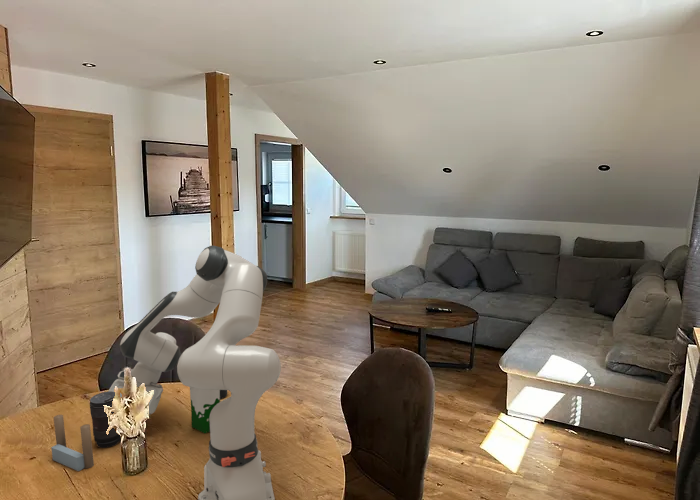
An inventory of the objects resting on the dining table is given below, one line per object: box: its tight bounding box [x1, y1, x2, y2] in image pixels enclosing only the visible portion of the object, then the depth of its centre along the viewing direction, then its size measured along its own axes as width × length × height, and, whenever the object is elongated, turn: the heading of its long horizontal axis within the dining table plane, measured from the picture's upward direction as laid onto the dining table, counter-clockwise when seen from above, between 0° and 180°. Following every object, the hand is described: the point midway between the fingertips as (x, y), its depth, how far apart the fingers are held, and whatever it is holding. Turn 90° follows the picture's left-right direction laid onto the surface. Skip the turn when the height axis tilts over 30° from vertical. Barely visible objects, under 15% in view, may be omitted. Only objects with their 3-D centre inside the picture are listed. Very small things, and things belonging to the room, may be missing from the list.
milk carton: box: [189, 387, 221, 434], centre depth 160 cm, size 9×9×20 cm
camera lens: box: [89, 390, 122, 449], centre depth 152 cm, size 8×8×15 cm
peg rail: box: [50, 414, 95, 472], centre depth 142 cm, size 4×15×12 cm, turn 62°
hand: (120, 421), depth 156 cm, fingers closed
